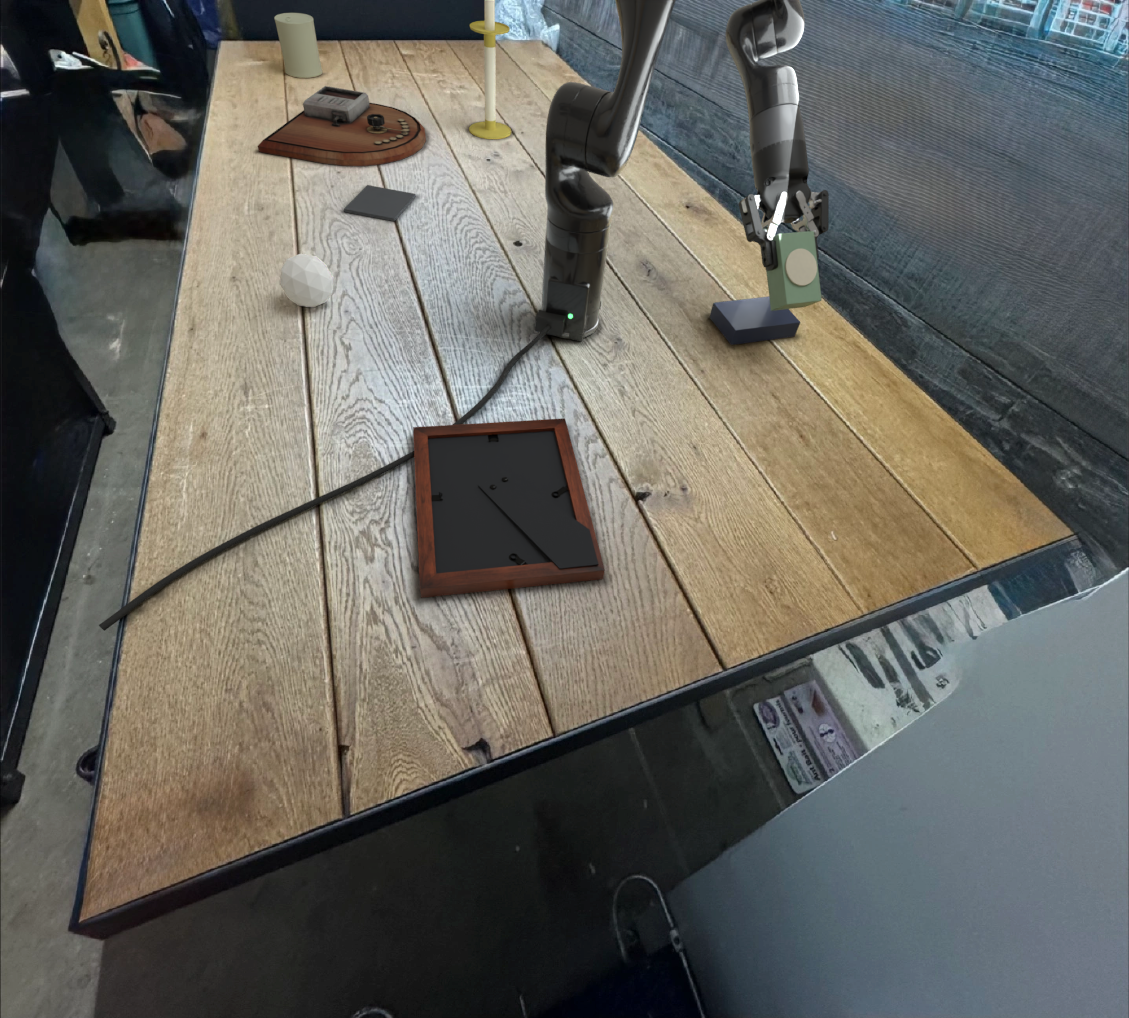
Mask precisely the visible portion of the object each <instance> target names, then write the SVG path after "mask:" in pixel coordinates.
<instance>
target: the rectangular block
mask: <svg viewBox="0 0 1129 1018" xmlns="http://www.w3.org/2000/svg"><path fill="white" fill-rule="evenodd" d="M709 319H710V320H711V321H712V323H713V324H714V325H715V326H716V328H717V329H718V330H719V332H720V333H721V334H722V336H723V337H724V338H725V340H726V341H728V343H729V344H730V345H731V346H734V345H742V344H749V343H756V342H764V341H770V340H778V339H787V338H793V337H796V334H797V332H798V331H799V327H800V324H801V320H799V318H797V316H796V315H795V314H794V313H793V312H792V311H791V309H784V310H775V311H771V306H770V298H769V295H768V296H761V297H760V296H758V297H751V298H741V299H734V300H724V301H717V302H713V303H712V307H711V310H710V313H709Z"/></svg>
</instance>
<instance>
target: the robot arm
mask: <svg viewBox="0 0 1129 1018" xmlns="http://www.w3.org/2000/svg"><path fill="white" fill-rule="evenodd" d="M614 2H615V6H616V11H617V16H618V21H619V27H620V28H619V29H620V37H621V38H620V39H621V59H620V67H619V71H618V76H617V81H616V84H615V87H614V89H613V91H610V90H605V89H602V88H599V87H595V86H592V85H588V84H584V83H581V82H576V81H567V82H565V83H563V84H562V85H560V86H559V87H558V89H556V91H555V93H554V95H553V97H552V99H551V101H550V105H549V107H548V112H547V118H546V127H545V143H544V144H545V146H544V147H545V149H544V150H545V152H544V153H545V155H544V156H545V159H544V160H545V161H544V163H545V164H544V165H545V168H544V169H545V172H544V175H545V176H544V177H545V178H544V197H545V201H546V206H547V207H546V221H545V222H546V223H545V224H546V225H545V239H544V253H543V254H544V255H543V269H542V271H543V272H542V287H541V288H542V289H541V303H540V304H541V305H540V309H538V311H537V313H536V315H535V325H534V332H536V333H538V334H537V335H536V336H534V338H533V339H532V340H530V342H529V343H528V344H527V345H525V346H524V347H523V348H522V349H520V350H519V351H518V352H516V354H514V356H513V357H512V358H511V359H510V360H509V362H508V363H507V364H506V365H505V367H504V369H503V371H502V372H501V373H500V376H499V377H498V379H497V381H495V383H494V384H493V386H492V387H491V388H490V389H489V390H488V392H486V394H485V395H484V396H483V397H482V398H481V399H480V400H479V401H478V402H477V403H476V404H475V405H474V406H473V407H472V408H470V409H469V410H468V411H467V412H466V413H465V414H463V415H462V416H461V417H460V418H459V419H458V420H457V421H455V422H454V423H452V425H460V424H465V422H467V421H468V420H469V419H470V418H471V417H473V416H474V415H475V414H476V413H477V412H478V411H479V410H480V409H481V408H483V406H484V405H485V404H486V403H487V402H488V401H489V400H491V398H492V397H493V395H495V393H496V392H497V391H498V390H499V389H500V387H501V386H502V384H503V383H504V382H505V380H506V378H507V376H508V374H509V373H510V371H511V369H512V368H513V367H514V365H515V364H516V363H517V362H518V361H519V360H520V358H521V357H523V356H524V355H525V354H527V352H529V351H530V350H531V349H532V348H534V347H535V345H537V343H539V341H540V340H541V339H543V337H544V336H545V335H546V336H552V337H556V338H562V339H567V340H571V341H577V342H583V341H584V339H585V338H586V337H590V336H591V335H592V334H594V333H595V332H596V330H597V329H598V327H599V320H600V318H599V314H600V310H601V306H602V301H601V299H602V293H603V286H604V280H605V279H604V278H605V270H606V264H607V257H608V249H609V241H610V235H611V227H612V221H613V215H614V202H613V199H612V197H611V195H610V194H609V193H608V192H607V191H606V189H604V188H602V186H601V185H599V183H597V182H596V181H595V180H594V178H593V177H591V175H590V173H591V174H593V175H598V176H601V177H605V178H609V179H612V178H615V177H617V176H619V175H620V174H621V173H622V172H623V171H624V169H625V168H626V167H627V164H628V162H629V160H630V158H631V155H632V153H633V150H634V148H635V145H636V141H637V138H638V135H639V130H640V127H641V124H642V119H643V116H644V112H645V108H646V105H647V100H648V96H649V92H650V89H651V84H652V81H653V77H654V73H655V70H656V65H657V61H658V59H659V58H658V57H659V54H660V51H661V47H662V44H663V41H664V38H665V35H666V32H667V28H668V25H669V22H670V19H671V17H672V14H673V11H674V9H675V5H676V2H677V0H614ZM801 3H802V2H801V1H800V0H756V1H753V2H751V3H749V4H745V5H744V6H743V5H742V6H741V7H738V8H737V9H736V10H734V11H733V12H732V13H731V14H730V16H729V18H728V20H727V22H726V27H725V34H724V35H725V42H726V46H727V49H728V51H729V54H730V57H731V59H732V61H733V63H734V66H735V67H736V70H737V72H738V74H739V77H740V79H741V82H742V86H743V90H744V95H745V100H746V107H747V115H748V125H749V149H750V155H751V165H752V166H751V167H752V173H753V181H754V188H755V190H756V191H757V193H756V194H755V195H754V194H752V193H750V194H748V195H747V196H745V197H744V198H742V199H741V200H740V201H739V202H738V209H739V213H740V217H741V221H742V226H743V229H744V235H745V239H746V241H747V242H749V243H753V242H754V243H756V244H757V245H759V247H760V255H761V263H762V266H763V268H765V272H766V271H772V270H774V269H776V268H777V267H778V258H777V250H776V241H773V239H774V237H775V236H776V233H777V229H778V227H779V225H780V224H781V223H785V224H790V225H791V227H792V229H793V230H794V231H796V232H808V231H814V237H815V246H816V255H817V261H819V258H820V256H819V255H820V254H819V245H818V237H819V236H821V235H823V234H824V233H826V232H828V231H829V221H830V220H829V218H830V217H829V214H830V213H829V212H830V211H829V205H830V203H829V201H830V200H829V191H828V190H827V189H823V190H821V191H820V192H818V191H817V192H816V191H812V190H811V188H810V187H809V185H808V177H809V174H810V170H809V160H808V151H807V141H806V132H805V126H804V121H803V120H804V119H803V115H802V113H801V104H800V95H799V87H798V79H797V75H796V71H795V70H794V68H793V67H792V66H790V65H787V64H773V65H762V64H760V63H758V62H759V61H763V60H766V59H769V58H772V57H773V56H776V55H780V54H782V53H785V52H787V51H790V50H792V49H794V48H795V47H796V46H797V45H798V44H799V43H800V41H801V39H802V37H803V34H804V31H805V25H806V23H805V22H806V21H805V13H804V9H803V6H802V4H801ZM759 209H760V210H761V212H762V213H763V215H762V219H761V218H760V213H759ZM801 217H802V218H801ZM800 218H801V219H800ZM412 459H414V450H412V451H410V452H408V453H406V454H405V455H403V456H401V457H399V458H397V459H396V460H394V461H391V462H390V463H388V464H386V465H384V466H382V467H379V468H378V469H376V470H374V471H372V472H369V473H368V474H365V475H364V476H362V477H360V478H358V479H355V480H353V481H352V482H349V483H347V484H345V485H342V486H340V487H338V488H336V489H334V490H332V491H328V492H327V493H324V494H322V495H320V496H317V497H316V498H314V499H312V500H310V501H308V502H305V503H303V504H301V505H299V506H297V507H295V508H292V509H290V510H287V511H286V512H284V513H280V514H278V515H277V516H275V517H272V518H270V519H269V520H266V521H264V522H261V523H259V524H258V525H256V526H253V527H252V528H250V529H247V530H246V531H244V532H242V533H240V534H238V535H235V536H234V537H232V538H230V539H229V540H227V541H225V542H223V543H221V544H219V545H217V546H215V547H214V548H212V549H210V550H208V551H206V552H204V553H202V554H201V555H199V556H197V557H195V558H194V559H192V560H191V561H188V562H187V563H185V564H184V565H182V566H180V567H178V568H177V569H176V570H174V571H172V572H171V573H170V574H167V575H166V576H165V577H163V578H162V579H160V580H159V581H157V582H155V583H154V584H153V585H151V586H149V588H147V589H146V590H144V591H143V592H141V593H140V594H139V595H137V596H136V597H134V599H132V600H130V601H129V602H128V603H126V605H124V606H123V607H121V608H120V609H119V610H117V611H116V612H115V613H113V614H112V615H110V616H108V618H106V619H105V620H104V621H102V622H101V623H100V624H98V627H100V628H101V630H102V631H107V630H108V629H109V628H110V627H112V626H113V625H115V624H116V623H117V622H118V621H120V620H121V619H122V618H124V617H125V616H127V615H128V614H129V613H130V612H132V611H134V609H136V608H137V607H139V606H140V605H141V604H142V603H144V602H145V601H146V600H148V599H149V598H151V597H152V596H153V595H155V594H156V593H157V592H159V591H160V590H161V589H164V588H165V587H167V586H168V585H169V584H171V583H172V582H174V581H175V580H177V579H179V578H180V577H182V576H183V575H184V574H187V573H188V572H190V571H191V570H193V569H195V568H196V567H198V566H200V565H201V564H203V563H204V562H207V561H208V560H210V559H212V558H213V557H216V556H217V555H219V554H221V553H223V552H225V551H227V550H228V549H230V548H233V547H234V546H236V545H238V544H239V543H242V542H243V541H245V540H247V539H249V538H252V537H253V536H255V535H257V534H259V533H261V532H263V531H265V530H267V529H269V528H271V527H274V526H276V525H277V524H280V523H282V522H284V521H286V520H288V519H291V518H292V517H295V516H297V515H299V514H301V513H304V512H305V511H309V510H310V509H312V508H315V507H316V506H318V505H321V504H323V503H325V502H327V501H329V500H331V499H333V498H336V497H338V496H341V495H343V494H345V493H347V492H350V491H351V490H354V489H356V488H357V487H360V486H361V485H364V484H366V483H368V482H370V481H372V480H374V479H376V478H378V477H380V476H382V475H384V474H386V473H388V472H390V471H391V470H393V469H396V468H398V467H400V466H401V465H403V464H405V463H406V462H408V461H410V460H412Z"/></svg>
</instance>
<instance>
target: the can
mask: <svg viewBox="0 0 1129 1018" xmlns="http://www.w3.org/2000/svg"><path fill="white" fill-rule="evenodd" d="M274 22H275V27H276V31H277V35H278V40H279V44H280V50H281V53H282V59H283V64H284V72H285V74H286V75H288V76H290V77H294V78H298V79H309V78H310V79H311V78H317V77H319V76H321V75H323V72H324V71H323V68H322V64H321V63H322V62H321V56H320V52H319V45H318V41H317V34H316V29H315V23H314V17H313V16H311V15H310V14H306V13H302V12H283V13H278V14H276V15H275V16H274Z"/></svg>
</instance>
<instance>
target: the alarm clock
mask: <svg viewBox="0 0 1129 1018" xmlns="http://www.w3.org/2000/svg"><path fill="white" fill-rule="evenodd" d="M807 231H808V230H807ZM773 241H776V250H777V258H778V267H777V268H776V269H774V270H772V271H766V270H765V272H766V273H765V274H766V282H767V289H768V296H769V298H770V306H771V311H775V310H784V309H789V310H792V309H793V310H794V309H801V308H806V307H808V306H811V305H814V304H816V303H819V302H822V301H823V300H822V292H821V291H822V290H821V284H820V274H819V265H818V260H817V255H816V246H815V237H814V231H808V232H797V231H796V232H783V233H777V234H775V237H774V239H773Z"/></svg>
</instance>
